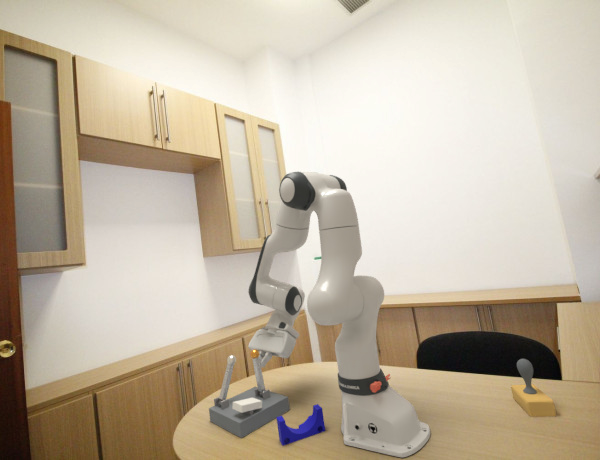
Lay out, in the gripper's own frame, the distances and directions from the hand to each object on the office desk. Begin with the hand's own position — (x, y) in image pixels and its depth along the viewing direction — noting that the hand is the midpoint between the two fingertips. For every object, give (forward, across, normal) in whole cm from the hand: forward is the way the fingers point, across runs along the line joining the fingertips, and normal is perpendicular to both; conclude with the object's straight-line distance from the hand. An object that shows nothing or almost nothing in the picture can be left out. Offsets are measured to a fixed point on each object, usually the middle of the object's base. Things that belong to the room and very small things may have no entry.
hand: (259, 366), depth 104 cm
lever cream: (+14, -6, -2) cm, 16 cm away
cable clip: (+13, +22, +7) cm, 26 cm away
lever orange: (+6, 0, +5) cm, 8 cm away
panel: (+14, 0, +5) cm, 15 cm away
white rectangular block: (+12, +6, -2) cm, 13 cm away
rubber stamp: (-17, +66, +36) cm, 77 cm away
